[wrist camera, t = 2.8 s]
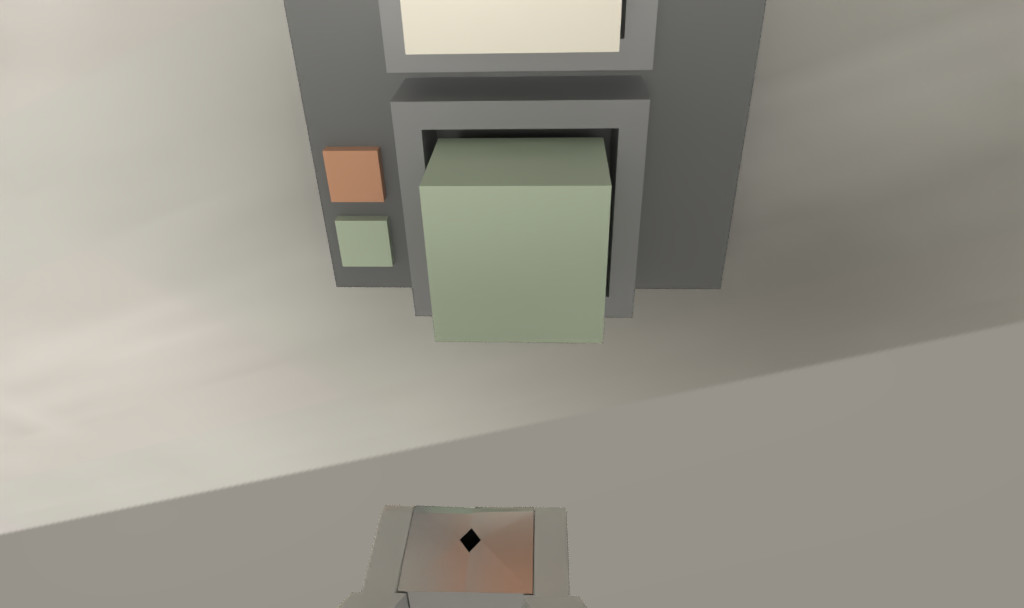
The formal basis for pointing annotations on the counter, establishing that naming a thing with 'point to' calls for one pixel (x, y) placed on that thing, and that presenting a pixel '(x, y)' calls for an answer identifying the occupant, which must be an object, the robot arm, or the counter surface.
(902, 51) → the counter surface
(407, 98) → the keypad base
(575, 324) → the key sage
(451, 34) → the key cream
